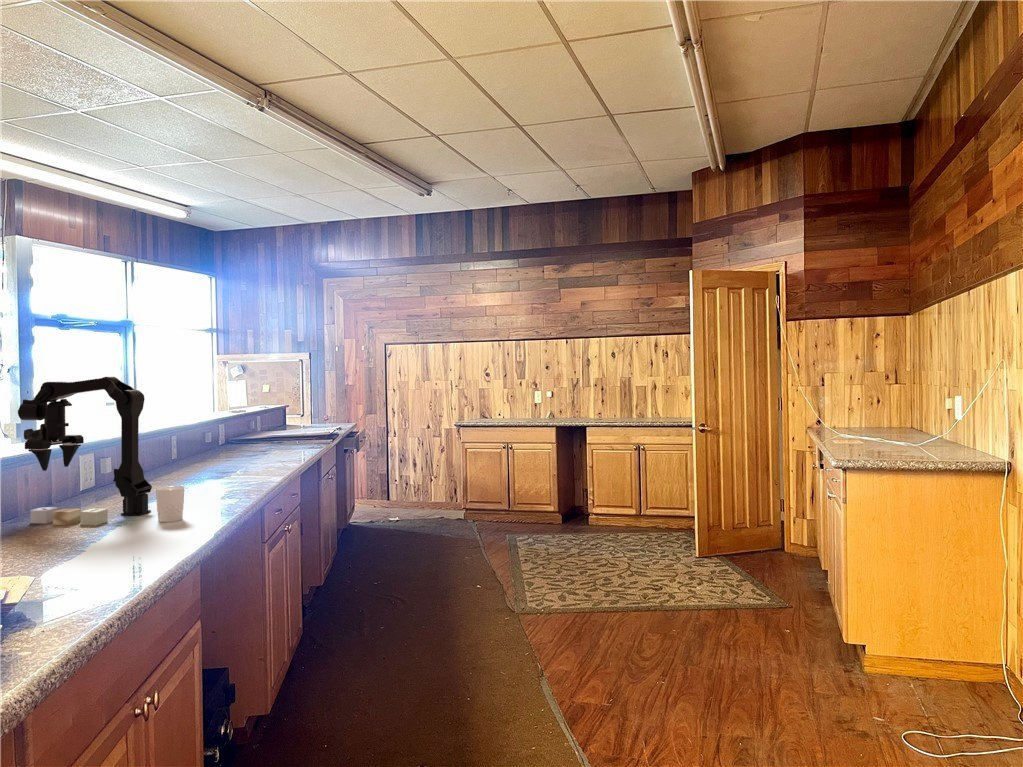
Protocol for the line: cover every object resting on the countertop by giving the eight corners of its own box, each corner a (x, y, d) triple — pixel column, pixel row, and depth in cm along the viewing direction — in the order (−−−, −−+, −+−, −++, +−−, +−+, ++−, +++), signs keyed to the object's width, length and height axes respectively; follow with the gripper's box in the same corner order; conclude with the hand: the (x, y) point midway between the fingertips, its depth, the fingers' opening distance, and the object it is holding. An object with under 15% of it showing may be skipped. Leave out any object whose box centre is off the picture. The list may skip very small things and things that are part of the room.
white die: (58, 520, 214) (58, 507, 214) (45, 524, 210) (45, 510, 209) (43, 519, 215) (43, 506, 215) (30, 523, 210) (30, 510, 210)
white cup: (150, 521, 214) (150, 488, 214) (173, 516, 221) (173, 484, 221) (167, 523, 210) (167, 491, 210) (190, 519, 217) (190, 487, 217)
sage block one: (107, 521, 213) (107, 508, 213) (96, 525, 208) (96, 512, 208) (92, 521, 213) (92, 508, 213) (80, 525, 209) (80, 511, 208)
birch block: (80, 521, 213) (80, 508, 213) (68, 525, 208) (68, 512, 208) (65, 521, 213) (65, 508, 213) (53, 525, 208) (53, 511, 208)
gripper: (53, 418, 235) (54, 464, 235) (8, 422, 217) (9, 472, 217) (84, 418, 234) (85, 464, 234) (41, 422, 215) (42, 473, 216)
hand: (55, 468), depth 225 cm, fingers open, 9 cm apart
